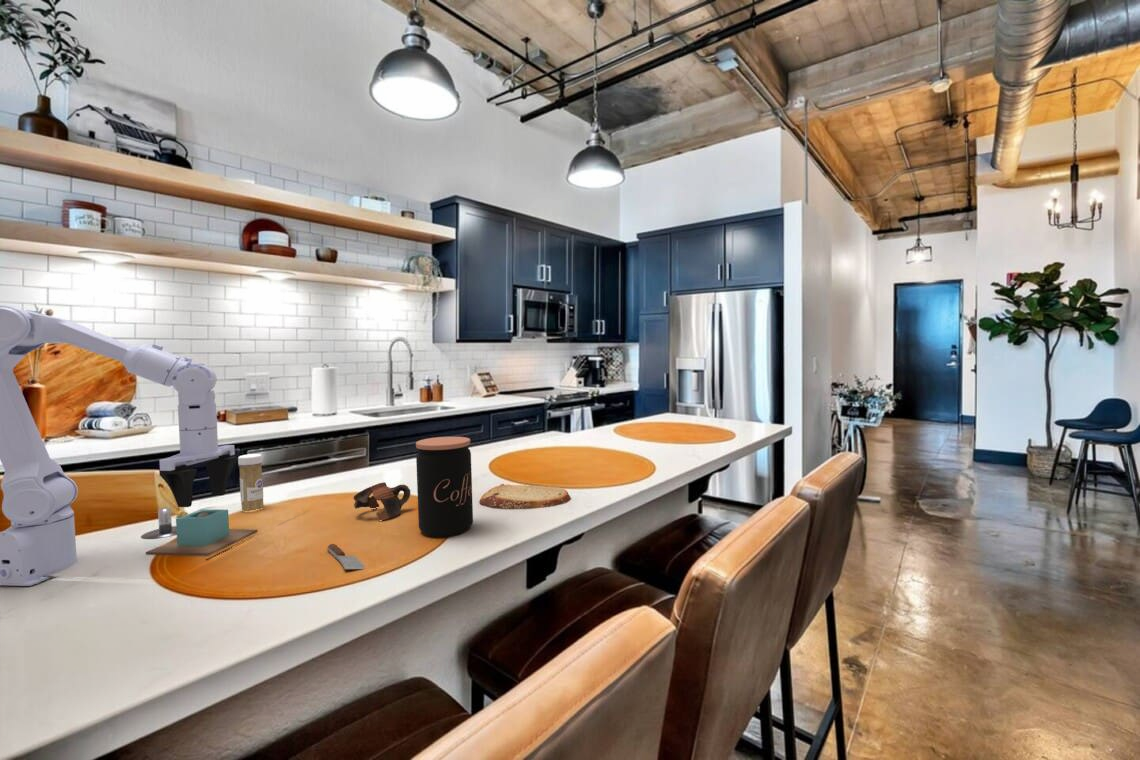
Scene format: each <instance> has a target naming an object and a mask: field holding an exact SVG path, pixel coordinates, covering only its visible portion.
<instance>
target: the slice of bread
mask: <svg viewBox="0 0 1140 760" xmlns="http://www.w3.org/2000/svg"><path fill="white" fill-rule="evenodd" d="M571 500H572V498H571V495H570V494H569V491H567V490H566V489H565V488H563V487H558V486H557V487H554V486H545V485H533V484H532V485H530V484H529V485H528V484H527V485H525V484H524V485H521V484H504V483H501V484H500V485H498V486H497V485H496V486H494V487H492V488H490V489H489V490H487V491H486V492H485V493H483V495H482V496H481V497H480V499H479V501H478V503H479V505H480V506H485V507H489V508H492V509H498V510H499V509H500V510H527V509H528V510H529V509H541V508H542V509H543V508H549V507H550V508H551V507H556V506H560V505H563V504H566V503H568V502H570V501H571Z"/></svg>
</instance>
